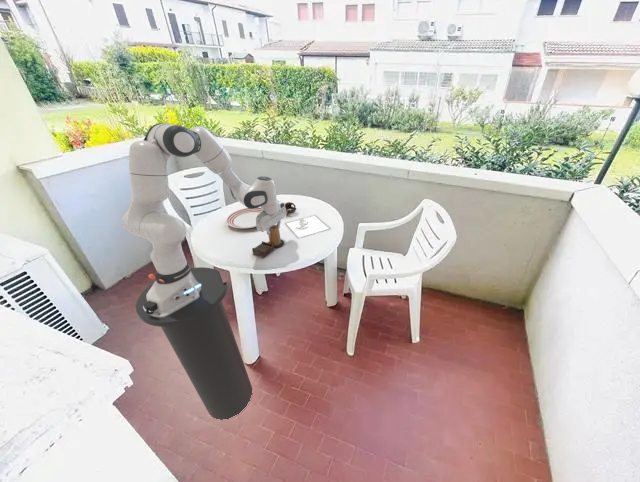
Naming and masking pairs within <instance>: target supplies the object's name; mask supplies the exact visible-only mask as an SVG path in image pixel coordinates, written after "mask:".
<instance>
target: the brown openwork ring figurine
mask: <svg viewBox="0 0 640 482" xmlns="http://www.w3.org/2000/svg"><path fill="white" fill-rule="evenodd" d="M284 203H285V208H286V216H289V215H291V214H294V213H295V212H296V210H297V206H296V205H295V203H293V202H292V201H291V202H290V201H288V202H284Z"/></svg>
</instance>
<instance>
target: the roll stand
mask: <svg viewBox="0 0 640 482" xmlns="http://www.w3.org/2000/svg"><path fill="white" fill-rule="evenodd" d="M274 251H275V248H274V247H273V244H270V243H268V242H267V241H261V243H260V244H259V245H257V246H256V247H252V248H251V252H252V255H253V256H257V257H259V258H262V259H264V258H266V257H267V256H268V255H270V254H271V253H272V252H274Z"/></svg>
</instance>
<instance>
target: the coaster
mask: <svg viewBox="0 0 640 482" xmlns="http://www.w3.org/2000/svg"><path fill="white" fill-rule="evenodd" d="M267 243H270V241H269V240H268V242H267ZM284 245H285V241H284V240H283V239H281V244H280V245H278V246H273V247H274V249H280V248H281V247H283V246H284Z"/></svg>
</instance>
